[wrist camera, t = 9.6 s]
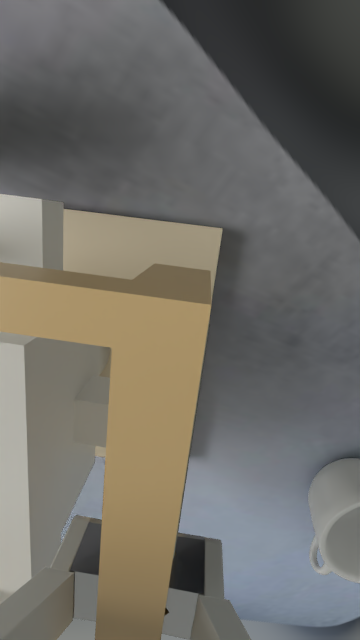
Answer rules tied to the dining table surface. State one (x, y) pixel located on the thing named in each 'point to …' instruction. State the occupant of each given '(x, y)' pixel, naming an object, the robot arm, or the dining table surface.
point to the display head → (65, 369)
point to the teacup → (336, 519)
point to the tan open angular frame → (130, 414)
